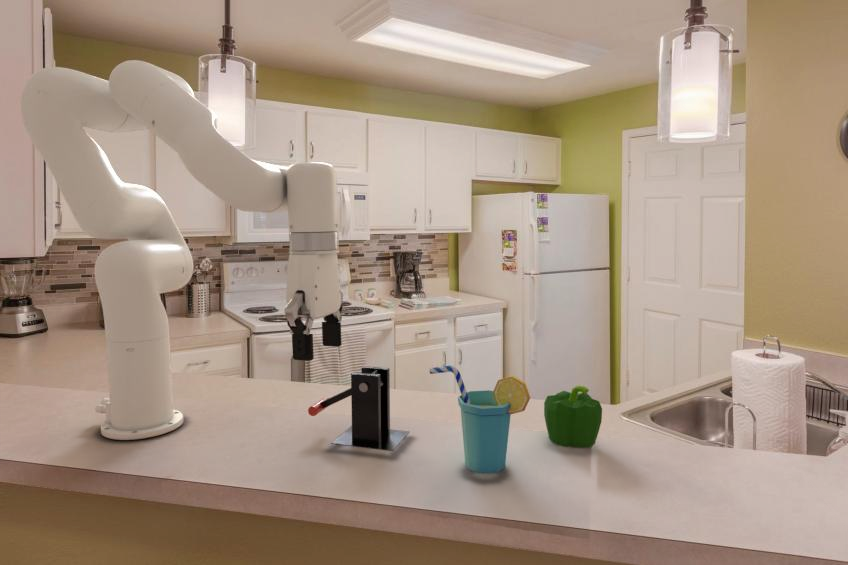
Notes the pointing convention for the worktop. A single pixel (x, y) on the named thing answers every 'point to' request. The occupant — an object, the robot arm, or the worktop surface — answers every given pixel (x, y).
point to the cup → (488, 420)
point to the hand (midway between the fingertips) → (318, 352)
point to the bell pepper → (573, 418)
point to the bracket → (371, 412)
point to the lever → (332, 400)
